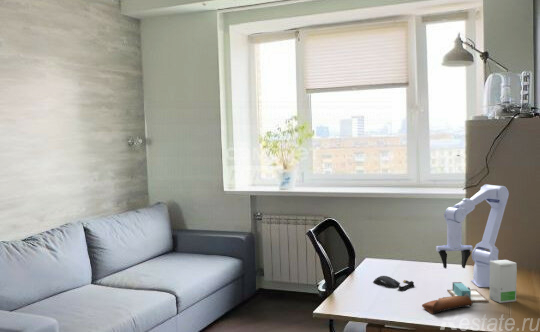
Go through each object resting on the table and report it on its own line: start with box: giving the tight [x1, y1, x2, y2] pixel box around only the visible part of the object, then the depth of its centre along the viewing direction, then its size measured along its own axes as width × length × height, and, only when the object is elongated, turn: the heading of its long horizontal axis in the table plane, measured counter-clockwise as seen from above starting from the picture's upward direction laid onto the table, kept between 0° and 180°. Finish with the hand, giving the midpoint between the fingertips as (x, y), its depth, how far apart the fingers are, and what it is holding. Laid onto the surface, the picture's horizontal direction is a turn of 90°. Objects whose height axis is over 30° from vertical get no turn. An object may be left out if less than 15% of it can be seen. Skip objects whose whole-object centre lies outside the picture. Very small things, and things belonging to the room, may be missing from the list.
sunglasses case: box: [421, 295, 473, 315], centre depth 200 cm, size 18×7×7 cm
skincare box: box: [488, 259, 518, 304], centre depth 208 cm, size 8×7×16 cm
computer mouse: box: [372, 275, 415, 292], centre depth 231 cm, size 12×18×4 cm
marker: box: [452, 281, 471, 299], centre depth 211 cm, size 15×4×4 cm, turn 178°
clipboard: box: [447, 286, 490, 303], centre depth 213 cm, size 14×12×2 cm
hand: (454, 267), depth 218 cm, fingers open, 7 cm apart
